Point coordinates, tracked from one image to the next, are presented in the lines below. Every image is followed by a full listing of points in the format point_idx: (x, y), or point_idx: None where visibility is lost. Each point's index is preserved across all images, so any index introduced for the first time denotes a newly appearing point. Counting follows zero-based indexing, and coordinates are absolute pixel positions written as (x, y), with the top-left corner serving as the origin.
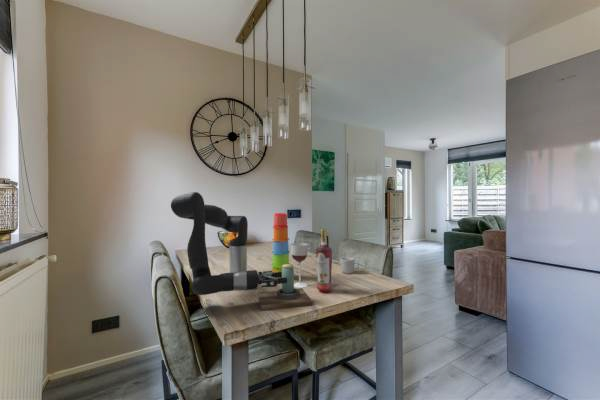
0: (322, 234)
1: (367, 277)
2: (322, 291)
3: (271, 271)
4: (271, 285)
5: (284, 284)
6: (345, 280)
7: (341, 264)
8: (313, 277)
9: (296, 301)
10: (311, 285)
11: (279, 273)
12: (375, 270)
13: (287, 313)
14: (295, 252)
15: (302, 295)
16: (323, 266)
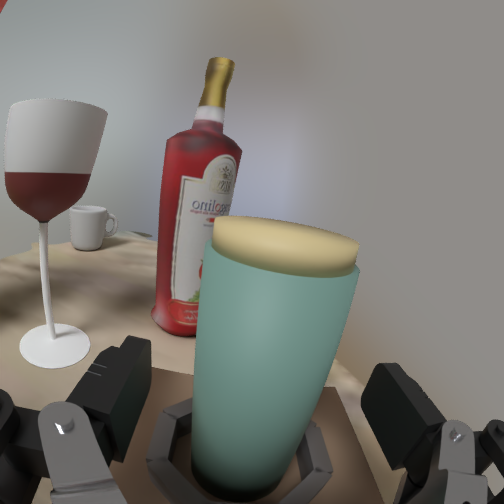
0: (224, 77)
1: (146, 249)
2: None
3: (11, 410)
4: (487, 494)
5: (300, 435)
6: (131, 268)
7: (80, 226)
8: (36, 285)
9: (341, 440)
10: (94, 324)
11: (136, 376)
12: (120, 233)
13: None
14: (57, 149)
15: None
16: None
